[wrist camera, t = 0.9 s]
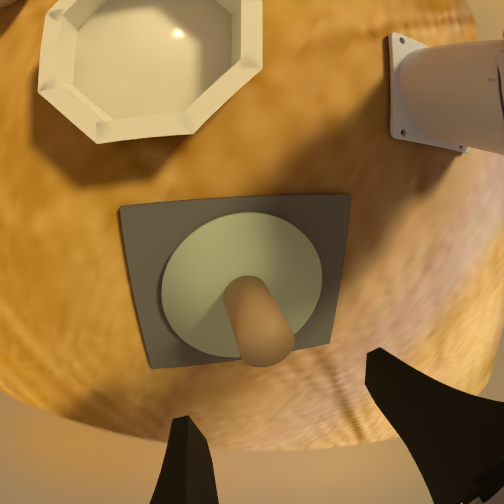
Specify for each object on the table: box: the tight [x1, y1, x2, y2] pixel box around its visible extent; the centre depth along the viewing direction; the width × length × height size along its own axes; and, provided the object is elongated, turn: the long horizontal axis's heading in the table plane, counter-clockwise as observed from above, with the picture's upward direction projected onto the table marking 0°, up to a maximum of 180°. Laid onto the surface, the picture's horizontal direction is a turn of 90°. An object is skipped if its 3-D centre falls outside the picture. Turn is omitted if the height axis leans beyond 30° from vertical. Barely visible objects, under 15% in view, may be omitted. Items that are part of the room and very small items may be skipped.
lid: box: [161, 211, 322, 367], centre depth 17 cm, size 10×10×6 cm
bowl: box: [38, 0, 262, 144], centre depth 11 cm, size 11×11×3 cm
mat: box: [120, 194, 351, 369], centre depth 19 cm, size 14×12×1 cm
